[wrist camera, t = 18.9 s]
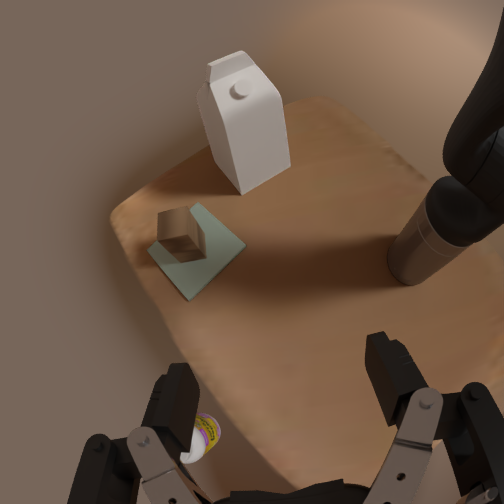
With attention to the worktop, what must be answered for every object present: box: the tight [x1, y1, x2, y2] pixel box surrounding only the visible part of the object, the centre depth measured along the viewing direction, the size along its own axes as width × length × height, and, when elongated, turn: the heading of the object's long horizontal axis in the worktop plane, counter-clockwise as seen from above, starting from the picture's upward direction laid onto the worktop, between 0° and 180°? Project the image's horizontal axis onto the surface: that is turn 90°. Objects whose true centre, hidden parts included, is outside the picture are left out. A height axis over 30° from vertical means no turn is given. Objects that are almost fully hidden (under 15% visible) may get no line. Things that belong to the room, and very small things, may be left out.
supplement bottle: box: [180, 413, 221, 463], centre depth 32 cm, size 7×7×13 cm
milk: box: [196, 51, 291, 195], centre depth 45 cm, size 12×12×26 cm
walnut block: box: [157, 206, 207, 263], centre depth 46 cm, size 5×5×10 cm
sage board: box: [147, 202, 246, 301], centre depth 51 cm, size 14×14×1 cm
